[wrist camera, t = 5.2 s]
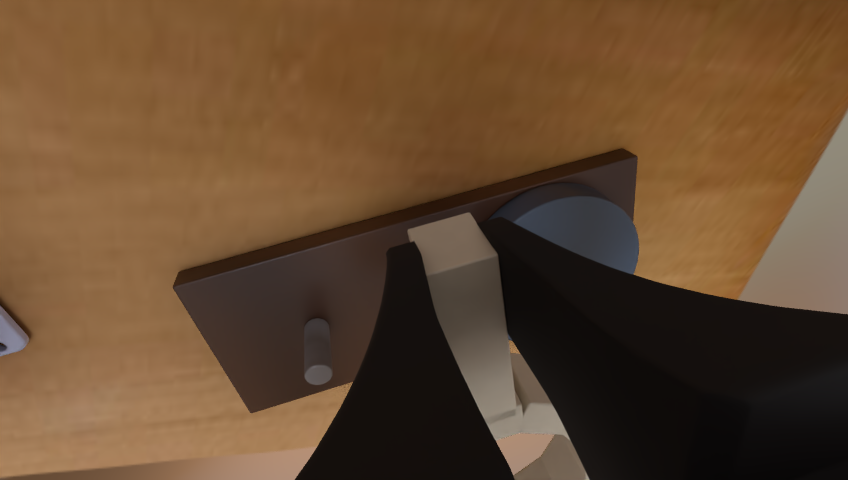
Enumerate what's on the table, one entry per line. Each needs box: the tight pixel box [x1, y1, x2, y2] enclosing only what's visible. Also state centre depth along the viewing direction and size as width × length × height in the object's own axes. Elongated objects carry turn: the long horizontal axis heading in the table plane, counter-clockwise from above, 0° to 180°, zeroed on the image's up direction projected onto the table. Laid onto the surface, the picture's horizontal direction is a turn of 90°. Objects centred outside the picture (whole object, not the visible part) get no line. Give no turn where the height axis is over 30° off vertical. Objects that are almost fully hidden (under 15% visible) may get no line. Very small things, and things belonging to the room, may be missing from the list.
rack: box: [173, 149, 639, 413], centre depth 22 cm, size 22×9×6 cm, turn 101°
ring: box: [407, 213, 589, 480], centre depth 14 cm, size 8×13×2 cm, turn 11°
